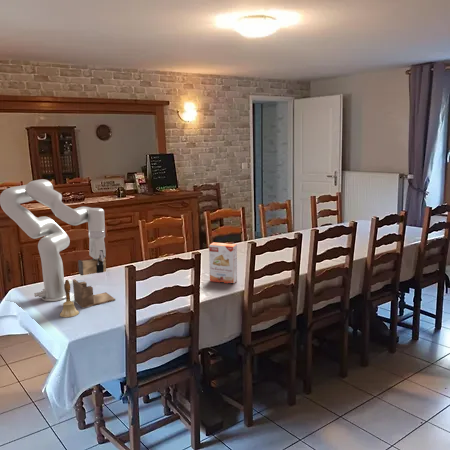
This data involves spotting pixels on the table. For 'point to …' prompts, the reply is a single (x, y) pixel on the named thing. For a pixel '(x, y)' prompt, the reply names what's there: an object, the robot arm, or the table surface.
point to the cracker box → (223, 262)
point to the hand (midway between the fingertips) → (98, 271)
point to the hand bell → (68, 303)
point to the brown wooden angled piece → (88, 295)
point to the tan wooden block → (89, 266)
